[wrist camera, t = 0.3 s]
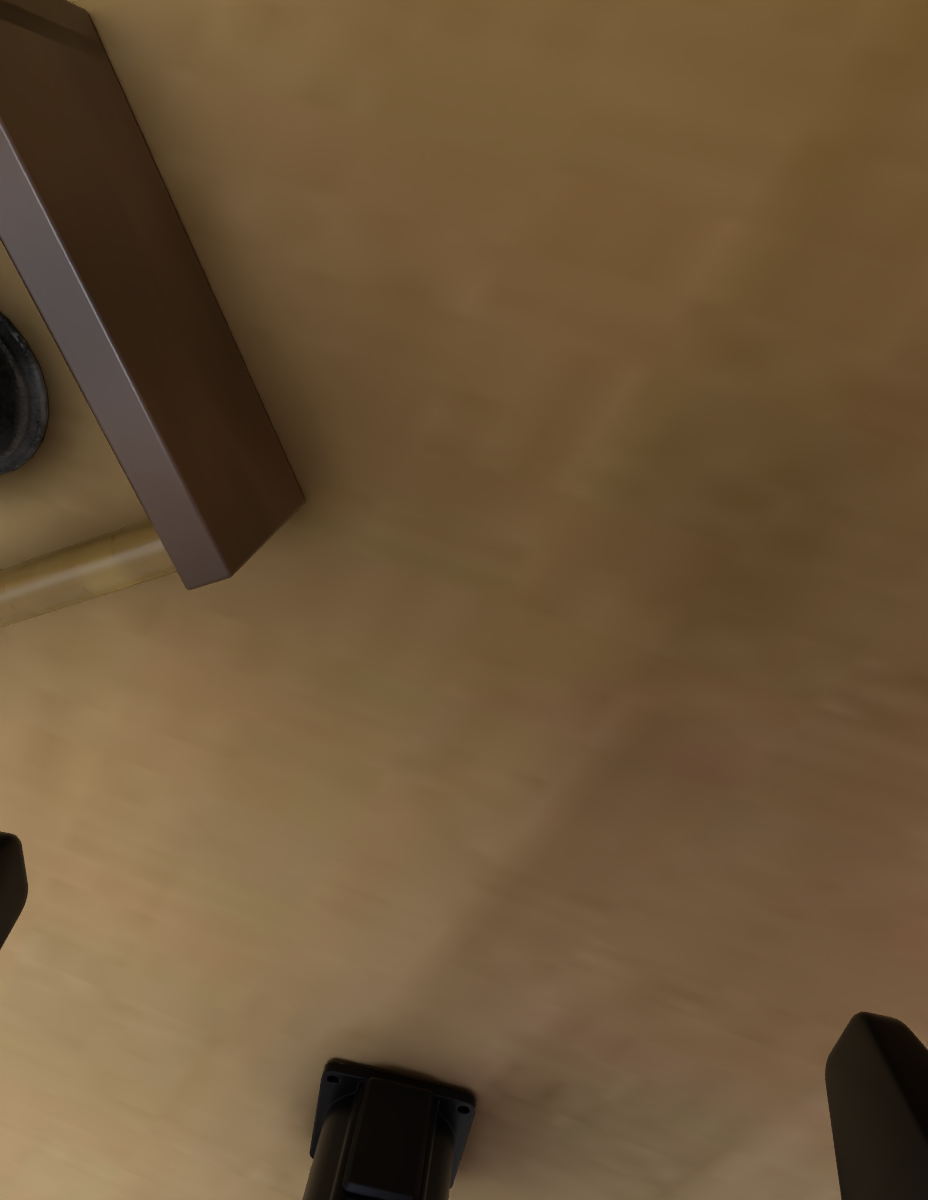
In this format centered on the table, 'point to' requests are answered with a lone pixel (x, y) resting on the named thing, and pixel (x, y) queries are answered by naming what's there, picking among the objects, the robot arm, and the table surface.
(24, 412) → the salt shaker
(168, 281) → the spice rack
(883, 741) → the table surface
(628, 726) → the table surface
